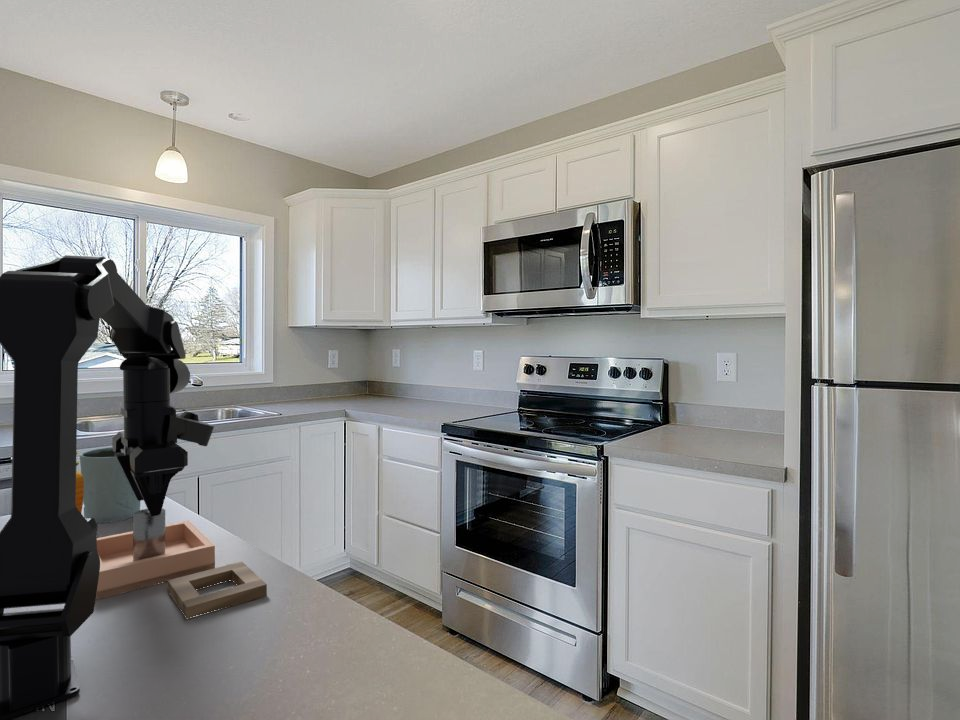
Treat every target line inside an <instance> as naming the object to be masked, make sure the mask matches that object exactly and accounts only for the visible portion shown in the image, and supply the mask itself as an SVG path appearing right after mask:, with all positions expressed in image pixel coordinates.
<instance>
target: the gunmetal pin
mask: <svg viewBox="0 0 960 720" xmlns="http://www.w3.org/2000/svg"><path fill="white" fill-rule="evenodd" d="M165 525H166V509H165V508H162V510H161V514H160V515H158V516H151V515H150V513H149V511H148V509H147V508H145V509H140V511H137V512H135V513H133V517H132V531H133V561H138V560H142V559H146V558H151V557H155V556H160V555H164V554H165Z"/></svg>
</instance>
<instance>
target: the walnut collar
mask: <svg viewBox="0 0 960 720" xmlns="http://www.w3.org/2000/svg"><path fill="white" fill-rule="evenodd" d="M229 580H233V581H234V582H235V583H234V582H233V581H232V582H233V583H234V584H235V586H231V587H227V588H225V589H221V590H217V591H214V592H210V593H206V594H203V595H200V594H199V592H198V590H196V589H199V590H201V589H200V588H203V587H207V586H210V585H214V584H217V583H220V582H225V581H229ZM229 582H230V581H229ZM225 583H226V582H225ZM236 584H237V585H236ZM214 586H215V585H214ZM267 586H268V584H267V583H266V582H265V581H264V580H263V579H262V578H261V577H260V576H259V575H257V574H256V572H254V571H253V570H252V569H251V568H250V567H249V566H248V565H247V564H245V563H244V562H243V561H238V562H234V563H231V564H227V565H223V566H219V567H215V568H214V569H211V570H207V571H203V572H199V573H195V574H191V575H187V576H183V577H179V578H175V579H171V580H168V582H167V592H168V593H170V594H169V595H170V597H171V596H172V597H171V598H172V600H173V599H174V600H173V601H174V603H175V602H176V603H177V604H176V603H175V604H176V606H177V605H178V606H179V607H178V606H177V607H178V608H180V609H181V610H182V612H183V613H184V615H185V616H186V618H190V617H193V616H196V615H200V614H204V613H207V612H211V611H214V610H218V609H221V608H224V609H226V608H225V607H227V608H230V607H233V606H236V605H240V604H243V603H247V602H251V601H253V600H254V601H255V600H256V599H260V598H263V597H266V596H267V595H268V593H267V592H268V589H267V588H268V587H267ZM210 587H211V586H210ZM207 588H208V587H207ZM203 589H204V588H203ZM180 609H179V610H180ZM181 610H180V611H181ZM221 610H222V609H221ZM218 611H219V610H218ZM182 612H181V613H182ZM214 612H215V611H214ZM183 613H182V614H183ZM211 613H212V612H211ZM184 615H183V616H184ZM204 615H205V614H204ZM185 616H184V617H185ZM186 618H185V619H186Z"/></svg>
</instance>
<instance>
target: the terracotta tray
mask: <svg viewBox="0 0 960 720" xmlns="http://www.w3.org/2000/svg"><path fill="white" fill-rule="evenodd" d="M215 549H216V545H215V544H214V543H213V542H212V541H211V540H210V539H208V537H207V536H205V534H203V532H201V530H199V529H198V528H197V526H195V525H194V524H193V523H192V522H191V521H190V520H184V521H183V520H182V521H179V522H174V523H168V524H165V554H164V555H160V556H155V557H151V558H146V559H142V560H138V561H133V530H131V531H127V532H122V533H117V534H112V535H111V534H110V535H107V536H100V537H97V551H98V554H99V557H100V571H99V579H98V586H97V593H96V600H102V599H106V598H108V597H113V596H117V595H120V594H123V593H128V592H132V591H137V590H140V589H139V588H141V589H143V588H142V587H144V588H147V587H146V586H148V587H151V586H150V585H152V586H155V585H154V584H156V585H159V584H158V583H160V584H163V583H162V582H164V583H167V582H166V581H168V580H171V579H175V578H179V577H183V576H187V575H191V574H195V573H199V572H203V571H207V570H211V569H214V568H216V556H215V555H216V552H215V551H216V550H215ZM136 589H137V590H136Z"/></svg>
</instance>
